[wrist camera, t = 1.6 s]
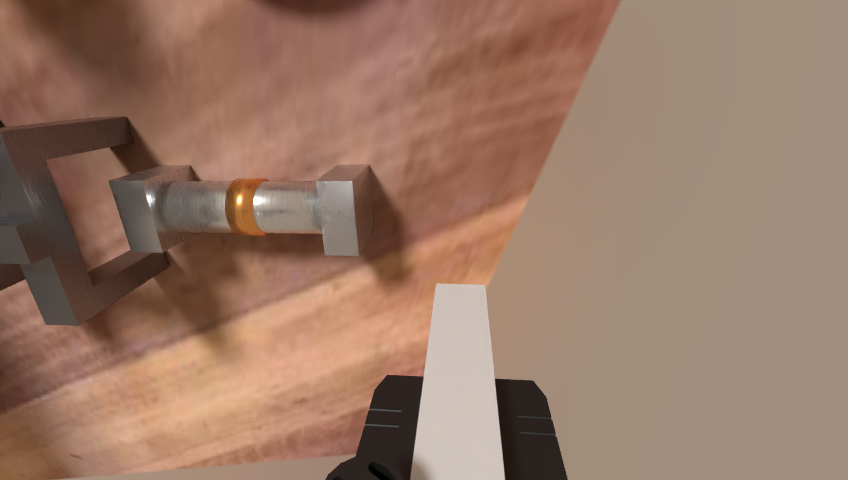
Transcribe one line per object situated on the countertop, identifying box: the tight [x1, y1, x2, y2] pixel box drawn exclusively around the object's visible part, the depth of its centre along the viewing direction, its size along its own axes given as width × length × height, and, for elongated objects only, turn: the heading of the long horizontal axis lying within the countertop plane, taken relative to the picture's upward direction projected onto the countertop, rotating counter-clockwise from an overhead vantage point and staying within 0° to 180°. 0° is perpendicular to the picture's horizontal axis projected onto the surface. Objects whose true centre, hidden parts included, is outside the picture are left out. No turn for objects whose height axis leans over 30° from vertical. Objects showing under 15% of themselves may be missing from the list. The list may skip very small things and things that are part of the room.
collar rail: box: [0, 117, 169, 326], centre depth 24 cm, size 11×11×9 cm
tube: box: [109, 165, 374, 256], centre depth 25 cm, size 14×4×4 cm, turn 91°
